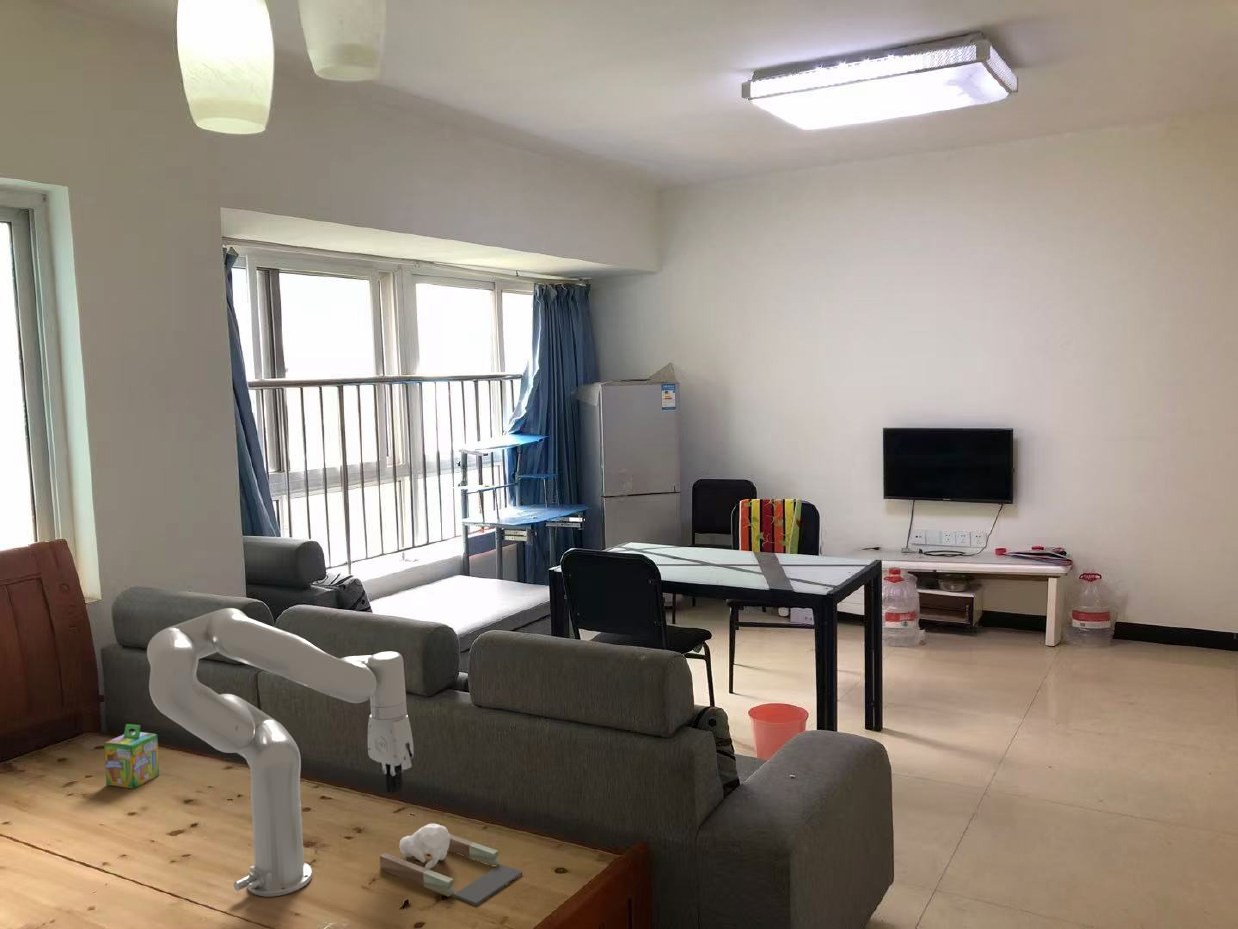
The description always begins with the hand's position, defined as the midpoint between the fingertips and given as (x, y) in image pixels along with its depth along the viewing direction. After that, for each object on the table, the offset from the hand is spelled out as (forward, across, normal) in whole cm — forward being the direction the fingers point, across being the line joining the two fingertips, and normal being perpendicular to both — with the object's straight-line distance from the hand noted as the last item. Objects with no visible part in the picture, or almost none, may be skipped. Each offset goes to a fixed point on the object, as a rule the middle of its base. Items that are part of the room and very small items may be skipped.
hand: (394, 790), depth 209 cm
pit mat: (+14, +28, -1) cm, 31 cm away
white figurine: (+14, +9, -1) cm, 16 cm away
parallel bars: (+14, +14, -1) cm, 19 cm away
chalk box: (+12, -87, -12) cm, 89 cm away
